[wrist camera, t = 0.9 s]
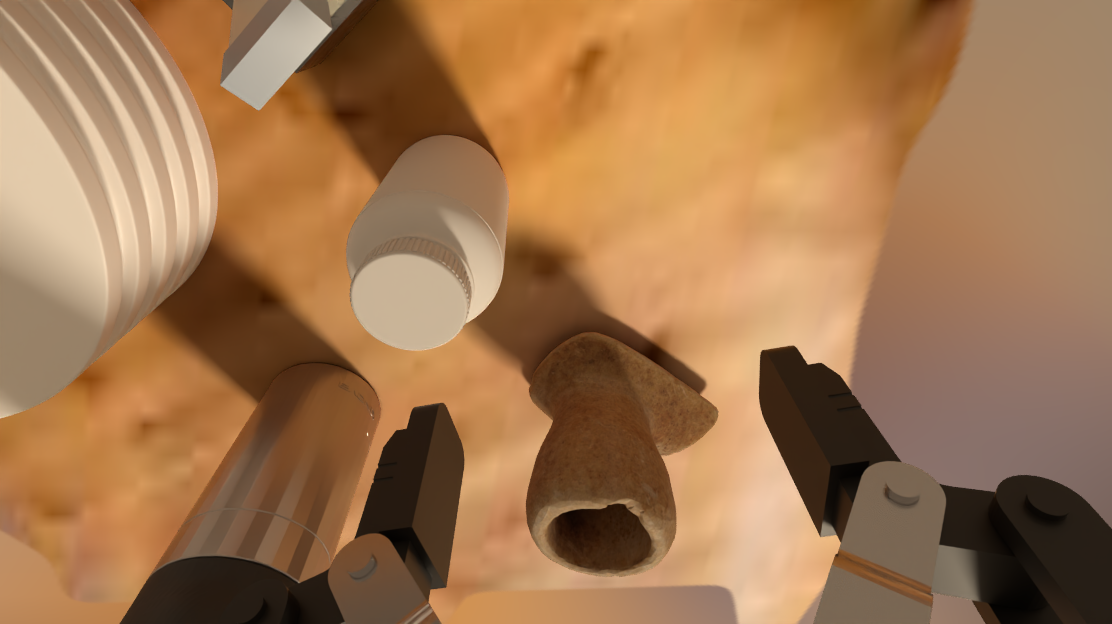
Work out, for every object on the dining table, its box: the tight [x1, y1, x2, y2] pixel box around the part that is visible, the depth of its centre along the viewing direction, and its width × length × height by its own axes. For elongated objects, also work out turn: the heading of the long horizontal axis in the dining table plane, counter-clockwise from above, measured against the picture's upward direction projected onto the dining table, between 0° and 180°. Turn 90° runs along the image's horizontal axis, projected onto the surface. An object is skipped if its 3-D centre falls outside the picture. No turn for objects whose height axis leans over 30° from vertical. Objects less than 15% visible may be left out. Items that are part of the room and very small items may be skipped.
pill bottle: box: [346, 135, 509, 350], centre depth 30 cm, size 8×8×15 cm
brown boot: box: [526, 332, 718, 577], centre depth 41 cm, size 15×12×15 cm
